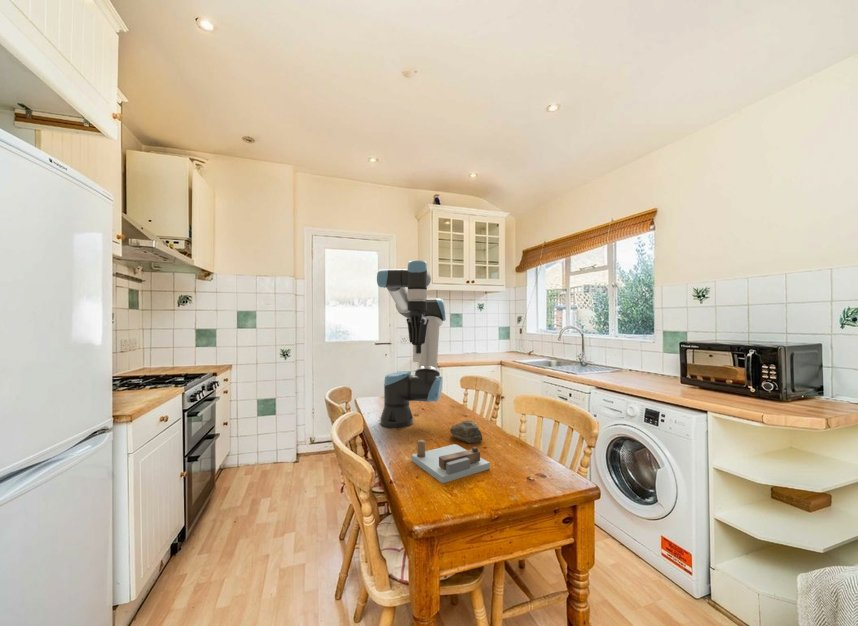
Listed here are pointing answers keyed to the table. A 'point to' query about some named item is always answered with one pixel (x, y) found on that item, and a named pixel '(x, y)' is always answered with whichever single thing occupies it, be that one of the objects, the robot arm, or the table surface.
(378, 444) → the table surface
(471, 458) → the leg
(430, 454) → the board
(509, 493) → the table surface
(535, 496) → the table surface
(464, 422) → the stone
